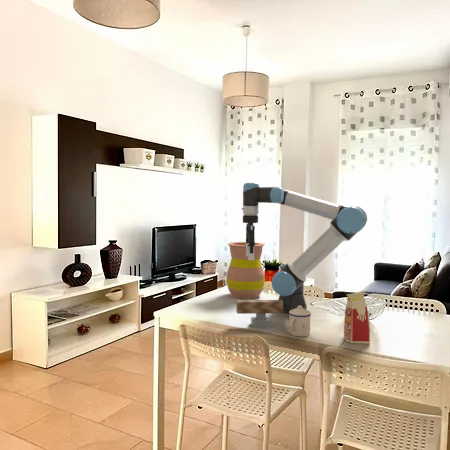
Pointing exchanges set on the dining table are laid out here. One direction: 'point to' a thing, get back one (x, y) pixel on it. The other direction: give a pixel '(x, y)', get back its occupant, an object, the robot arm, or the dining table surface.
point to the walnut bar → (259, 306)
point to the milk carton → (356, 319)
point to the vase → (245, 272)
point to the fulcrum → (260, 321)
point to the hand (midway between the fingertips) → (249, 258)
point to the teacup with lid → (299, 322)
